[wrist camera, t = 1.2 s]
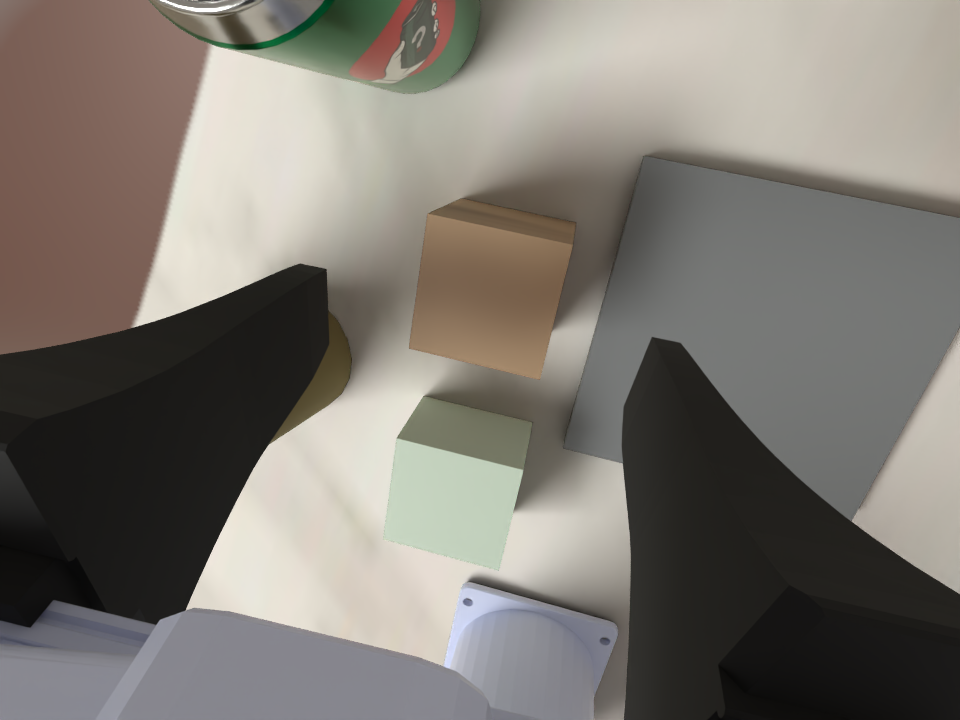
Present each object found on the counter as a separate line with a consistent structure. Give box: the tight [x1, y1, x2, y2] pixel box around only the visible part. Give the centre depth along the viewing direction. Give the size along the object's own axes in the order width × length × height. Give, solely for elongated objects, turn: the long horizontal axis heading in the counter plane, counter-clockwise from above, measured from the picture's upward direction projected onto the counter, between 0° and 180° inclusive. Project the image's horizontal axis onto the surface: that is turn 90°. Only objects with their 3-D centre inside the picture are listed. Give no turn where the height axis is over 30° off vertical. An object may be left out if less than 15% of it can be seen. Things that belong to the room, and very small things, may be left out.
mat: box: [563, 156, 960, 521], centre depth 21 cm, size 12×12×1 cm
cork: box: [269, 311, 352, 444], centre depth 20 cm, size 6×6×11 cm
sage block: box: [383, 396, 533, 571], centre depth 24 cm, size 5×5×4 cm
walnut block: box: [409, 198, 576, 380], centre depth 20 cm, size 4×4×5 cm
